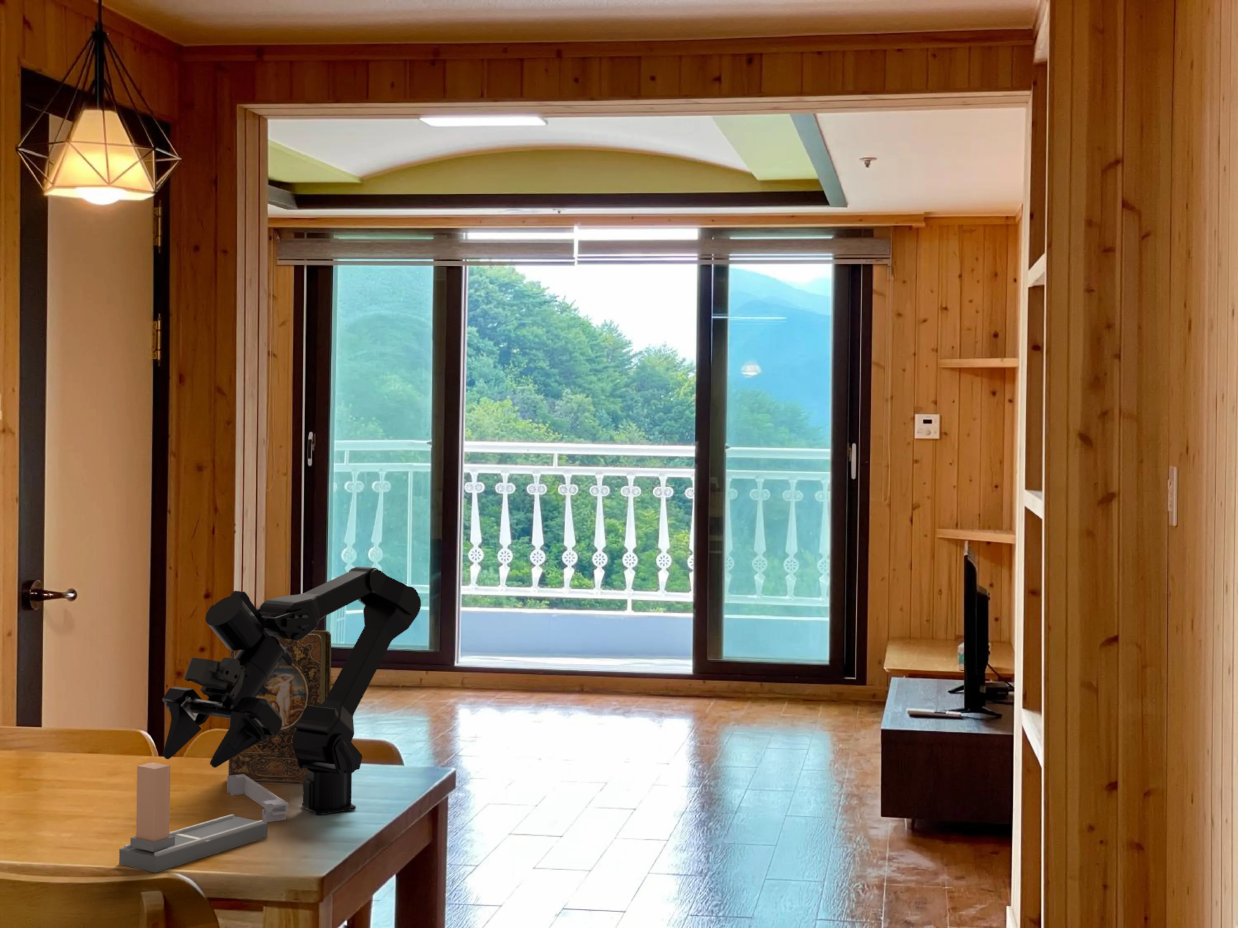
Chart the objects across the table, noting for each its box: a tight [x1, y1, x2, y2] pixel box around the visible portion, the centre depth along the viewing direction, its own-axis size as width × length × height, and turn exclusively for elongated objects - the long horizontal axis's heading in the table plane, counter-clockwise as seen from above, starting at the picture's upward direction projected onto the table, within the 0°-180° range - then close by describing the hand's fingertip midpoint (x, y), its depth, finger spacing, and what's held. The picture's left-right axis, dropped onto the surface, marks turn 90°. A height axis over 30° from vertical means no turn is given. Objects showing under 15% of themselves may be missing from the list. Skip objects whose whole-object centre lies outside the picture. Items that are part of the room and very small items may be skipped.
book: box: [227, 630, 332, 786], centre depth 227 cm, size 16×6×25 cm, turn 84°
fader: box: [129, 761, 175, 852], centre depth 179 cm, size 4×4×11 cm
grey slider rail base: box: [118, 813, 269, 874], centre depth 186 cm, size 20×7×2 cm, turn 150°
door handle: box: [226, 774, 289, 823], centre depth 209 cm, size 21×3×3 cm, turn 33°
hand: (188, 761), depth 184 cm, fingers open, 9 cm apart
